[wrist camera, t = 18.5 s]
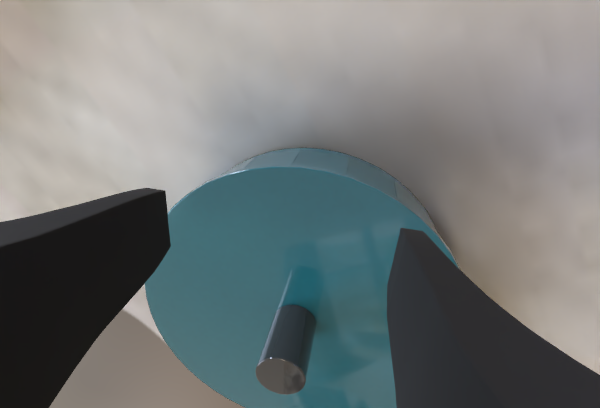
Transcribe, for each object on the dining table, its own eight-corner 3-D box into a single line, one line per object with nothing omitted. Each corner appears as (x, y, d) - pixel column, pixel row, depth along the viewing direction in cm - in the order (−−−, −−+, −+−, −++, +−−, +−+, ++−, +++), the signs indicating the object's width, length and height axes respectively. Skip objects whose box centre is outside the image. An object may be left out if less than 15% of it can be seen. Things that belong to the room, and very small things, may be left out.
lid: (544, 319, 18) (597, 405, 14) (316, 444, 26) (306, 523, 22) (268, 76, 15) (228, 91, 11) (109, 298, 23) (51, 356, 19)
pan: (503, 283, 21) (532, 336, 18) (315, 391, 29) (306, 445, 25) (300, 82, 19) (282, 94, 15) (148, 259, 26) (110, 297, 22)
